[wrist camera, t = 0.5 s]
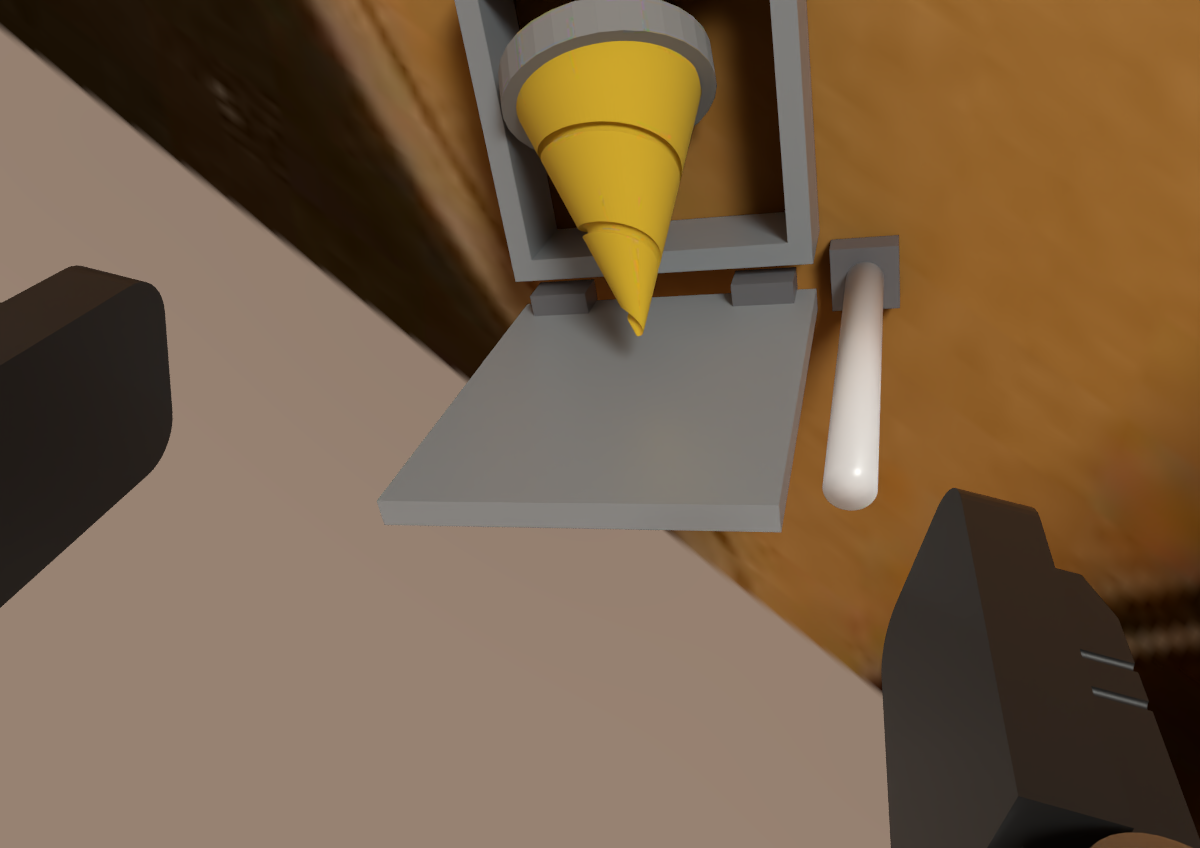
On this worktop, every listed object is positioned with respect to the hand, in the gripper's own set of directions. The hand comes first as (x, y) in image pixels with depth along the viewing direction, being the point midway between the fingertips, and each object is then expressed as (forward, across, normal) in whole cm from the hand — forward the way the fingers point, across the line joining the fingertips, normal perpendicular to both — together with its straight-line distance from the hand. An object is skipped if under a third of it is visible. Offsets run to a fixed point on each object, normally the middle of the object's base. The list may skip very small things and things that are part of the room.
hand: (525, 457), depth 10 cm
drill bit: (+19, +2, +1) cm, 19 cm away
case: (+19, 0, +1) cm, 19 cm away
